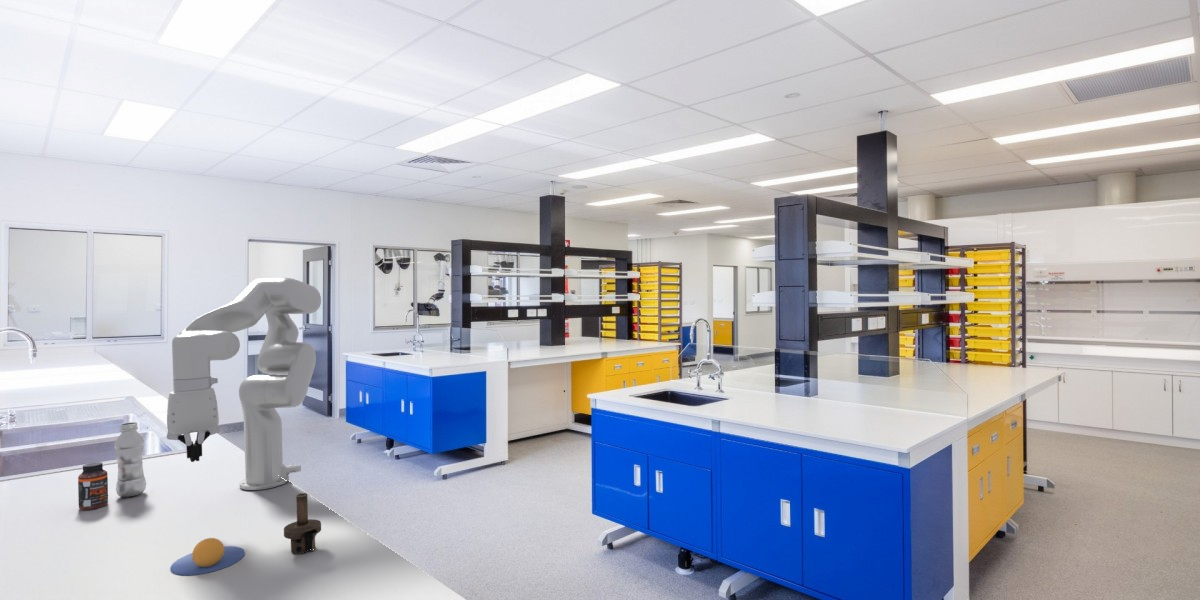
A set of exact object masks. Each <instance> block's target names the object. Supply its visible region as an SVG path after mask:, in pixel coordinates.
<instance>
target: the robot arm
mask: <svg viewBox="0 0 1200 600" xmlns="http://www.w3.org/2000/svg"><path fill="white" fill-rule="evenodd" d="M321 304H322V297H321V293H320V291H319V290H318V288H316V287H315V286H314V285H311V284H308V283H305V282H303V281H300V280H298V279H295V278H291V277H263V278H261V277H260V278H255V279H254V280H253V281H251V282H249V284H247V285H246V286H245V288H243V290H241V292H239V294H237V295H236V297H234V298H233V299H232V301H230V302H229V303H227V304H225V305H223V306H220V307H217V308H215V309H213V310H211V311H209V312H206V313H204V314H202V315H199V316H198V317H196V318H194V319H193V320H191V321H190V323H188V325H186V326H185V327H184V328H183V329H182V330H181V331H180V332H179V334H178V335H175V336H174V337H173V338H172V341H171V347H172V348H171V351H172V352H171V353H172V354H171V355H172V382H173V383H172V387H173V391H170V392H169V394H168V400H167V411H166V416H167V417H166V426H167V430H168V431H167V434H166V438H167V440H169V441H170V440H171V441H179V442H180V443H183V444H185V445H186V459H187V460H188V459H189V460H190V462H191V463H194V462H199V461H200V458H201V457H203V443H204V442H205V441H206V440H207V439H208V438H209V437H210V436H213V435H216V434H218V433H220V432H221V429H220V425H219V422H220V420H219V418H220V417H219V407H218V400H217V396H216V395H217V394H216V391H215V388H214V387H212V386H213V385H215V384H218V383H219V381H218V379H219V378H217V377H215V378H214V377H212V376H211V361H227V360H229V359H232V358H233V357H235V356H236V355H237V353H239V350H240V347H241V343H240V339H239V337H238V336H237V335H236V334H235V333H236V332H239V331H242V330H247V329H249V328H252V327H254V326H255V325H256V324H258V322H259V321H260V320H261V319H262V317H263V316H265V317H266V320H267V325H268V326H267V331H266V335H265V338H264V340H263V343H262V344H261V348H260V350H259V353H258V356H257V360H256V365H257V369H258V371H259V372H261V373H264V374H253V375H250V376H248V377H246V378H245V379H243V381H241V383H240V385H239V388H238V397H239V401H240V405H241V409H242V415H243V416H242V417H243V427H244V428H243V429H244V430H243V432H244V435H243V436H244V464H245V465H244V470H245V478H243V480H241V481H240V482H239V489H241V490H245V491H260V490H261V491H262V490H268V489H271V488H272V489H273V488H275V487H276V488H277V487H279V486H282V485H285V484H286V483H287V481H288V482H289V480H290V474H292V473H298V472H301V471H302V466H301V464H298V465H294V464H292V465H290V464H289V465H287V466H286V464H284V462H283V461H284V460H283V459H284V458H283V456H284V455H283V454H284V453H283V452H284V451H283V427H282V426H283V423H282V419H281V416H280V413H279V412H278V411H277V409H279V408H280V409H281V408H282V409H288V408H289V409H290V408H296V407H299V406H300V405H301V404H302V403H303V402H304V400H305V398H306V396H307V392H308V390H309V388H310V387H309V386H310V383H311V380H312V377H313V374H314V371H315V367H316V361H317V354H316V350H315V348H314V347H313V346H312V345H311V344H310V343H307V342H297V341H298V338H299V329H298V327H297V325H296V323H295V321H294V320H292V318H291V316H290V315H299V314H301V315H303V314H306V315H307V314H308V315H309V314H314V313H316V312H317V311H318V310H319V309H320V307H321ZM191 433H192V434H193V433H196V439H195V441H194V442H193V440H192V436H191ZM278 475H279V476H278ZM281 477H282V478H284V479H285V480H287V481H285V480H284V479H282V478H281ZM285 482H286V483H285Z"/></svg>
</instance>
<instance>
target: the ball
mask: <svg viewBox="0 0 1200 600" xmlns="http://www.w3.org/2000/svg"><path fill="white" fill-rule="evenodd" d="M224 546H225V545H224V544H223V542H222V541H221V540H219V539H218V538H215V537H208V538H207V537H206V538H205V539H203V540H200V541H199V542H198V543H197V544H196V545H195V546H194V548H193V551H192V559H193V561H194V563H195V564H196V565H198V566H200V567H210V566H213V565H215V564H216V563H217V562H219V561H220V559H221V558H222V556H223V554H224Z"/></svg>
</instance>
